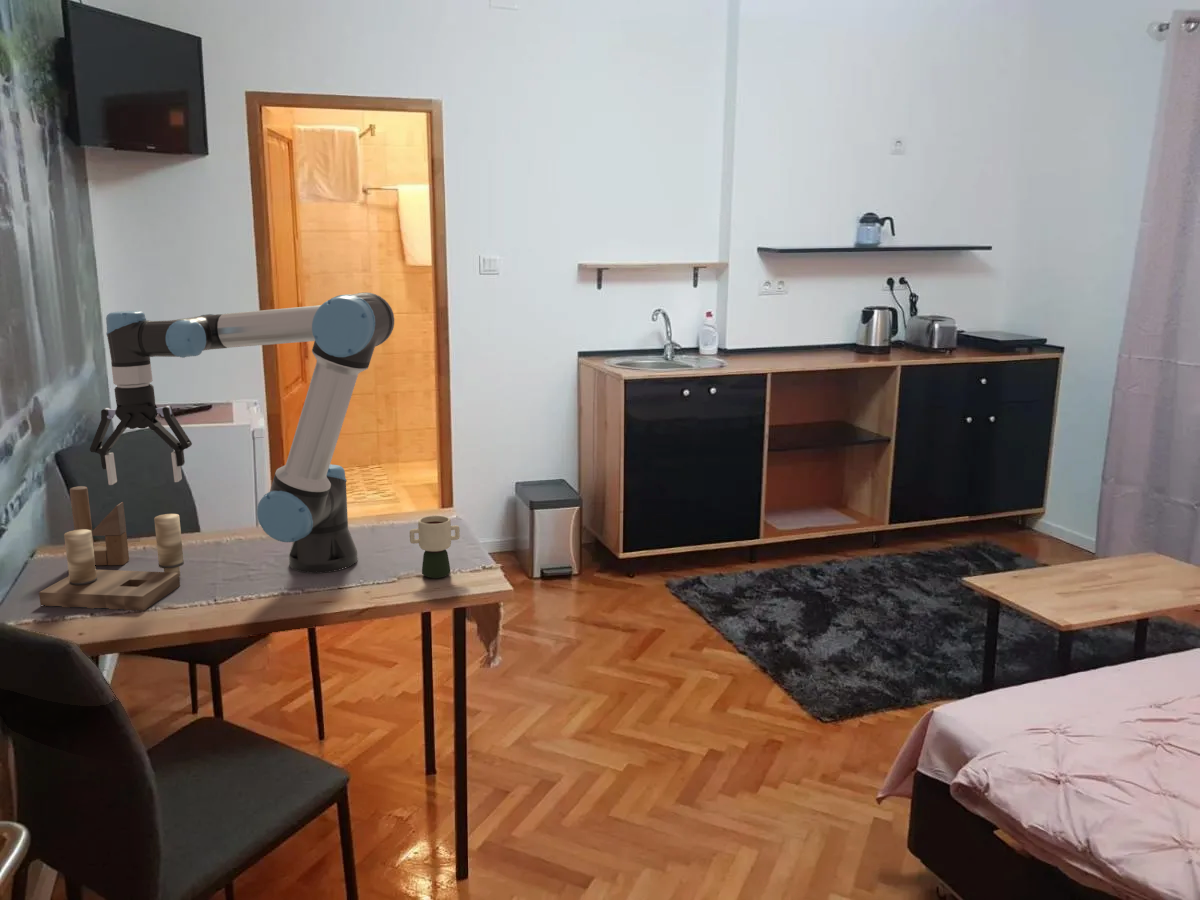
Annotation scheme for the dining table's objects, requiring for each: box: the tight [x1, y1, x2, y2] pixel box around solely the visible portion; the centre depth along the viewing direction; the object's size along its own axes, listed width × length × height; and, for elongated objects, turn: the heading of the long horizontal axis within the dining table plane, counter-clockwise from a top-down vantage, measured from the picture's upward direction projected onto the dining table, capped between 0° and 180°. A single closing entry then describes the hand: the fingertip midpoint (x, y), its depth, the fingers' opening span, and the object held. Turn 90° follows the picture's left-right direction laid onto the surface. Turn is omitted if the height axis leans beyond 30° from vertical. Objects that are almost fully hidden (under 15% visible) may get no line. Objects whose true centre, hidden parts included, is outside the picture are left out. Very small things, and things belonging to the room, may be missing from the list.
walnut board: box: [38, 529, 181, 612], centre depth 199 cm, size 22×14×14 cm, turn 85°
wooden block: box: [69, 485, 130, 566], centre depth 218 cm, size 4×11×18 cm, turn 95°
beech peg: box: [153, 513, 185, 577], centre depth 211 cm, size 5×5×14 cm
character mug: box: [409, 514, 461, 579], centre depth 212 cm, size 11×7×13 cm, turn 108°
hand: (145, 482), depth 208 cm, fingers open, 13 cm apart
